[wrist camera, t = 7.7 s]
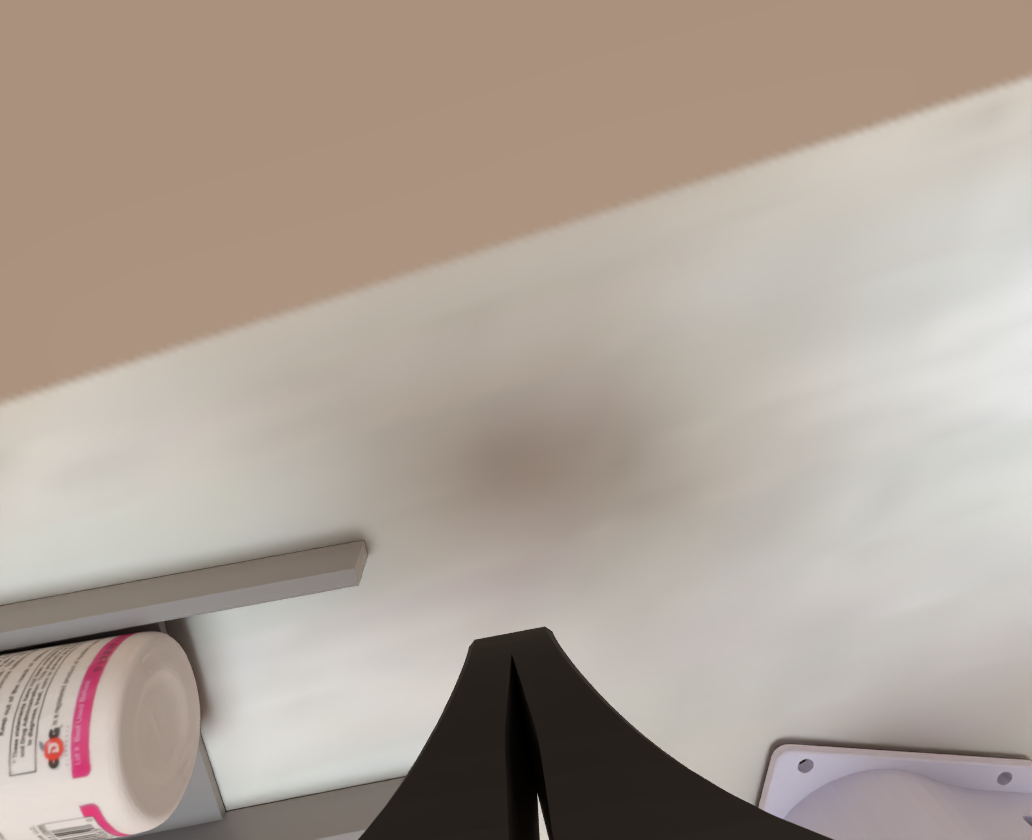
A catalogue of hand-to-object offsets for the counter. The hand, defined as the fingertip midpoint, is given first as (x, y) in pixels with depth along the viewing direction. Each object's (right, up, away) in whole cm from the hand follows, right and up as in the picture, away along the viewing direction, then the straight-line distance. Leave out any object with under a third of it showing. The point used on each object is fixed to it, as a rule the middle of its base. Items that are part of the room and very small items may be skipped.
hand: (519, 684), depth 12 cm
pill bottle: (-9, -3, +6) cm, 11 cm away
